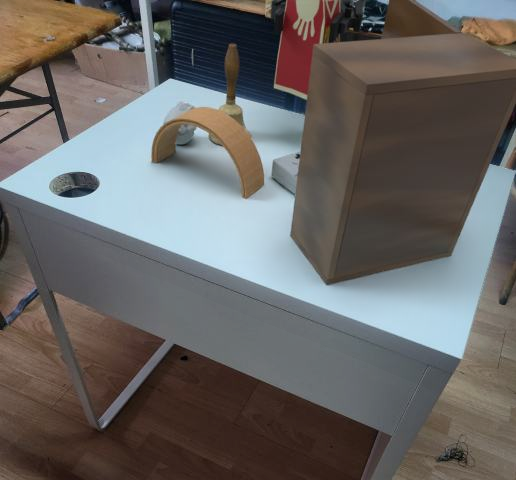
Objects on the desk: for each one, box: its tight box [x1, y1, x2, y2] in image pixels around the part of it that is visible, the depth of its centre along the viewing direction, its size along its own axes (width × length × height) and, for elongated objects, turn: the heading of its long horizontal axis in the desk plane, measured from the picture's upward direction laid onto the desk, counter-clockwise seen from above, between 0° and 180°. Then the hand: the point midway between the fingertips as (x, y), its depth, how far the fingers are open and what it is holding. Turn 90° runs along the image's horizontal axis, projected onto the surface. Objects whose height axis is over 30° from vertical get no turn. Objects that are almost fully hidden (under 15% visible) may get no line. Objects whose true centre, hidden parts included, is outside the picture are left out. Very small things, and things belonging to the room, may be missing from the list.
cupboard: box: [289, 32, 516, 286], centre depth 65 cm, size 12×21×26 cm, turn 112°
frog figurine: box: [162, 101, 198, 145], centre depth 91 cm, size 6×7×7 cm
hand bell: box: [208, 43, 253, 146], centre depth 90 cm, size 8×8×16 cm
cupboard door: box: [380, 0, 463, 39], centre depth 79 cm, size 7×21×26 cm, turn 12°
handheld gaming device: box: [271, 151, 301, 195], centre depth 86 cm, size 9×15×4 cm, turn 125°
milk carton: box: [273, 0, 341, 101], centre depth 82 cm, size 9×9×20 cm
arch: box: [150, 106, 265, 200], centre depth 83 cm, size 6×20×10 cm, turn 57°
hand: (304, 28), depth 78 cm, fingers closed on milk carton, 8 cm apart
